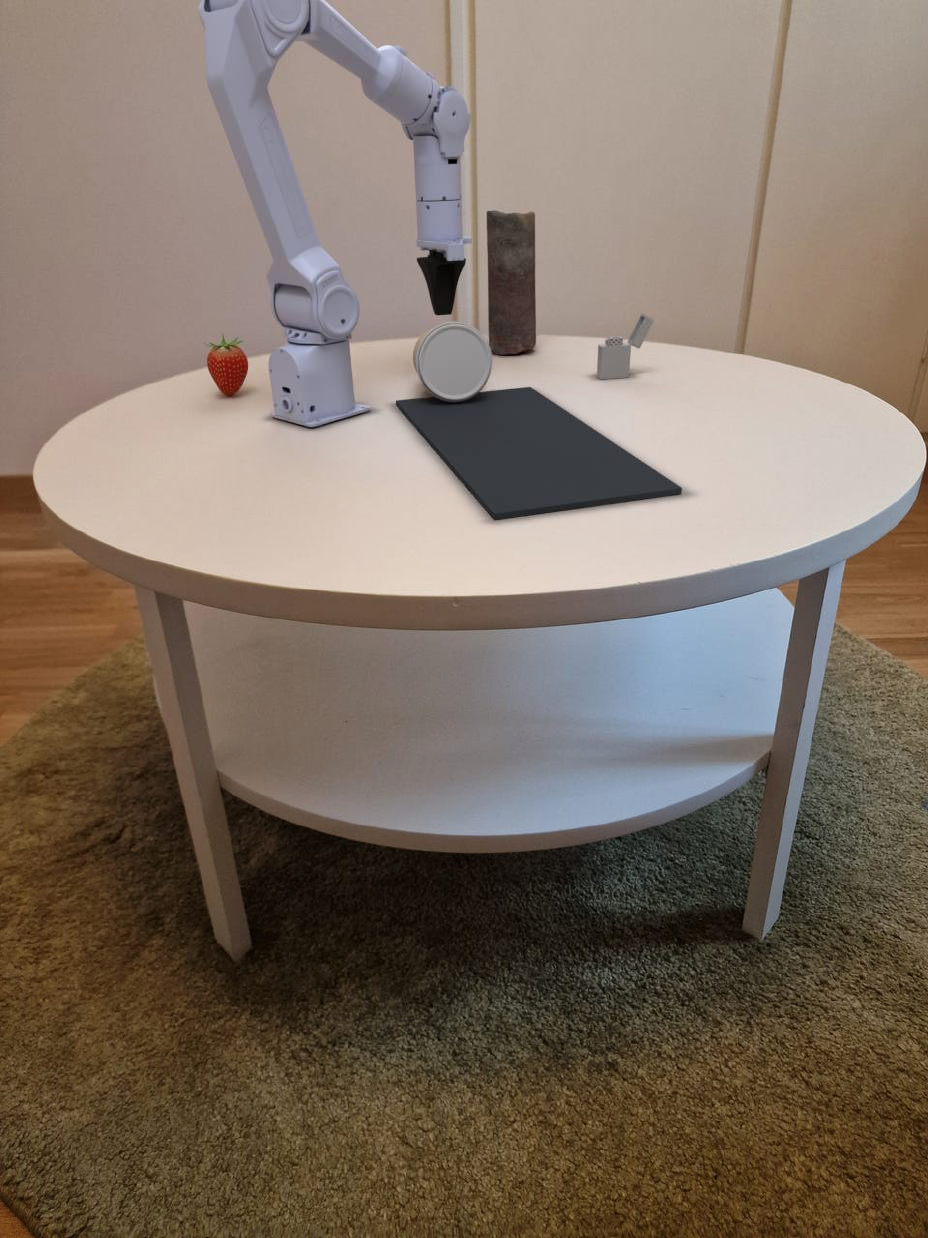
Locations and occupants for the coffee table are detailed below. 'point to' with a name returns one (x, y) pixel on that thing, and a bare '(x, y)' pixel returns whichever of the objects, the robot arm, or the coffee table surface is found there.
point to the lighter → (621, 351)
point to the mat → (530, 454)
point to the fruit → (227, 366)
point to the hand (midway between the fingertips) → (443, 314)
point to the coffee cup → (452, 361)
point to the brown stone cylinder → (511, 282)
